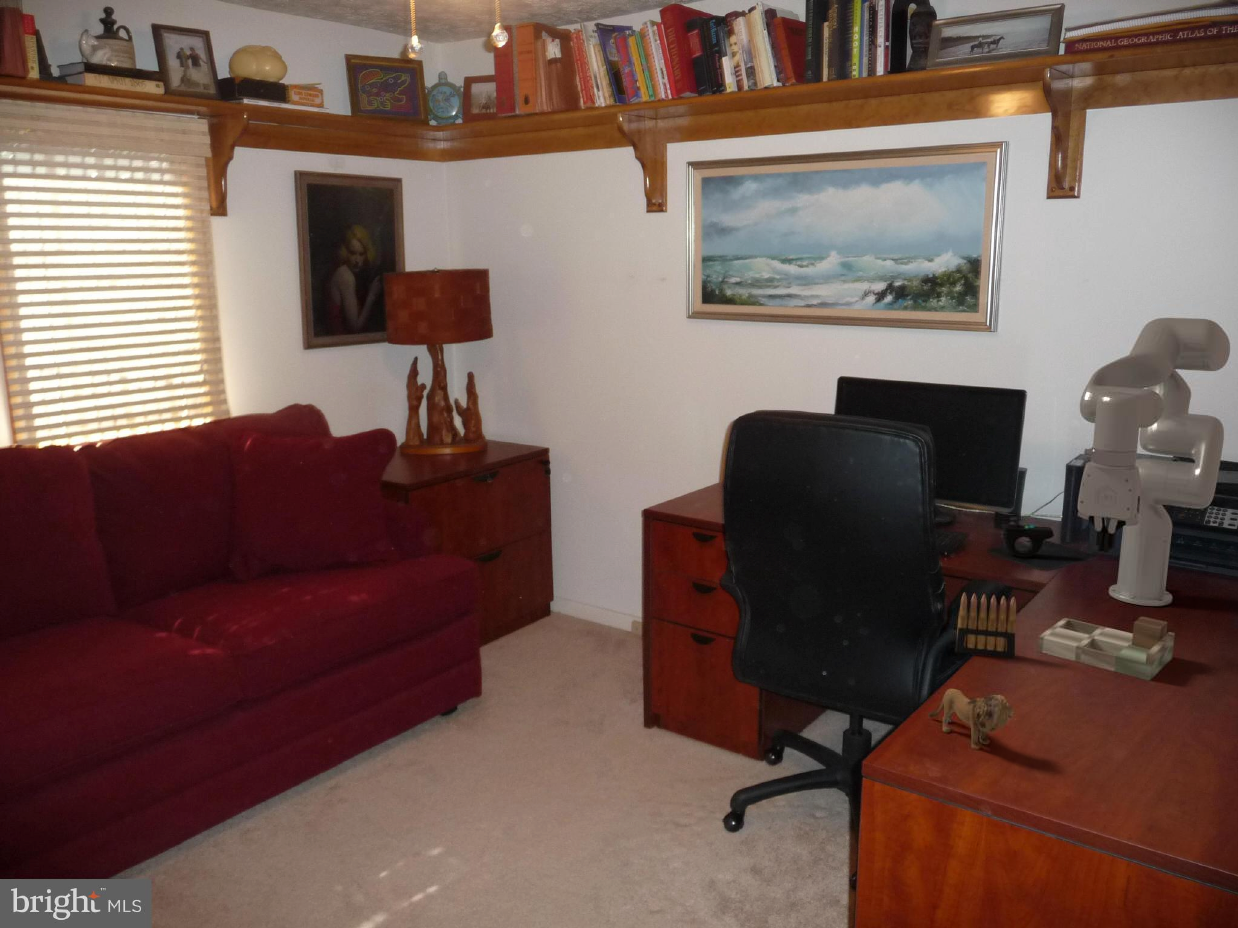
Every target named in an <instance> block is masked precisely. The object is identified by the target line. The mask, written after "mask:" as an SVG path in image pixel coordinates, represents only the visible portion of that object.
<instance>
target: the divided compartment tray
mask: <svg viewBox="0 0 1238 928" xmlns="http://www.w3.org/2000/svg"><path fill="white" fill-rule="evenodd" d="M1175 635H1176V633H1175V632H1171V631H1169V632H1166V635H1165V636H1164V637H1163V638H1162V639H1161V640H1160V641H1159V642H1158V643H1157V644H1156V645H1155V646H1154V647H1153V648H1152V649H1151V650H1149V649H1145V648H1141V647H1137V646H1133V645H1132V637H1133V632H1132V633H1131V632H1128V631H1122V630H1119V629H1115V628H1110V627H1106V626H1101V625H1098V624H1094V623H1088V622H1085V621H1080V620H1075V619H1073V618H1072V619H1071V618H1067V617H1063V618H1062V619H1060V620H1059V621H1057V623H1055V624H1054V625H1052V626H1051V627H1050V628H1048V629H1047V630H1045V631H1044V632H1043V633H1041V634H1040V635H1038V639H1037V648H1036V649H1037V650H1036V651H1037V652H1039V653H1044V654H1046V653H1047V654H1046V655H1050V656H1055V657H1058V658H1061V659H1066V660H1070V661H1073V662H1077V663H1081V664H1085V665H1088V666H1092V667H1097V668H1100V669H1104V670H1106V671H1107V670H1108V671H1111V672H1116V673H1119V674H1123V675H1126V676H1131V677H1135V678H1138V679H1142V680H1146V681H1148V682H1149V681H1151V680H1152V679H1153V678H1154V677H1155V676H1156V675H1157V674H1158V673H1159V672H1160V671H1161V670H1162V669H1163V668H1164V667H1165V666H1166V665H1167V664H1168V663H1169V662H1170V661H1171V660H1172V659H1173V654H1174V653H1173V652H1174V644H1175V637H1176V636H1175Z"/></svg>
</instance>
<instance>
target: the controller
mask: <svg viewBox="0 0 1238 928" xmlns="http://www.w3.org/2000/svg"><path fill="white" fill-rule="evenodd" d="M1009 520H1010V522H1009V523H1007V524H1006V523H1005V524H1004V523H1003V524H1002V528H1003V529H1002V531H1001V533H1000V534H1001V536H1000V537H1001V539H1003V543H1004V546H1005V548H1006V549H1007V550H1008V551H1009V553H1010V554H1012V555H1014V556H1016V557H1019V558H1029V557H1032V556H1034V555H1036V554H1038V552H1039V551H1040V550H1041V549H1042V548H1043V547H1042V546H1043V543H1044V541H1045V540H1048V539H1052V538H1053V537H1054V536H1055V534H1054V531H1053V529H1052V528H1051V527H1049V526H1038V525H1037V526H1036V525H1029V524H1024V525H1022V524H1020V523H1018V521H1019V518H1018V517H1015V516H1013V517H1010V518H1009ZM1021 538H1026V539H1027V538H1028V539H1029V541H1030V546H1029V547H1028V548H1027V549H1025V550H1020V549H1018V548H1017V547H1016V542H1017V540H1020V539H1021Z"/></svg>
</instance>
